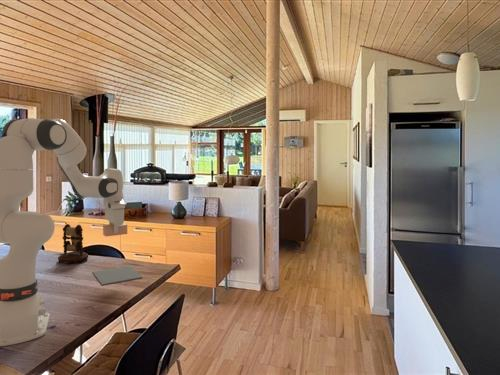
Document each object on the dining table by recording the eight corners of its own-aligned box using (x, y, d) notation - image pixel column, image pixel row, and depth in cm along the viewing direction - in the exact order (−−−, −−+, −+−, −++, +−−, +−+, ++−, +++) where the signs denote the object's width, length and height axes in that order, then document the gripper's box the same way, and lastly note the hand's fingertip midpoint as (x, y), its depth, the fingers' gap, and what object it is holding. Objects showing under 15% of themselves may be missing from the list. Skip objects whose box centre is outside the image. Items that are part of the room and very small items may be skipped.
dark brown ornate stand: (93, 257, 200) (93, 222, 198) (77, 265, 185) (76, 227, 183) (69, 256, 202) (68, 221, 200) (51, 263, 187) (50, 226, 185)
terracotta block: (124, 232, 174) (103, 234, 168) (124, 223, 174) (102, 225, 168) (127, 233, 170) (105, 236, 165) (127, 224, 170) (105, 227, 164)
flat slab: (142, 278, 168) (142, 277, 168) (101, 285, 158) (101, 284, 158) (129, 266, 185) (129, 265, 185) (92, 272, 174) (92, 271, 174)
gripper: (101, 200, 174) (101, 228, 175) (112, 205, 158) (112, 236, 159) (114, 199, 178) (115, 226, 179) (126, 204, 161) (126, 234, 162)
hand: (114, 231), depth 169 cm, fingers closed on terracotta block, 4 cm apart
